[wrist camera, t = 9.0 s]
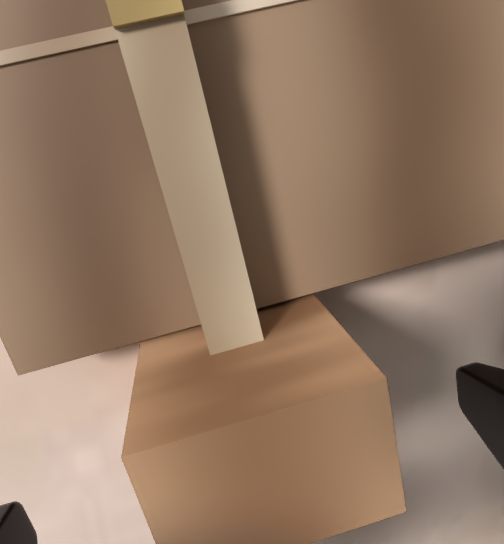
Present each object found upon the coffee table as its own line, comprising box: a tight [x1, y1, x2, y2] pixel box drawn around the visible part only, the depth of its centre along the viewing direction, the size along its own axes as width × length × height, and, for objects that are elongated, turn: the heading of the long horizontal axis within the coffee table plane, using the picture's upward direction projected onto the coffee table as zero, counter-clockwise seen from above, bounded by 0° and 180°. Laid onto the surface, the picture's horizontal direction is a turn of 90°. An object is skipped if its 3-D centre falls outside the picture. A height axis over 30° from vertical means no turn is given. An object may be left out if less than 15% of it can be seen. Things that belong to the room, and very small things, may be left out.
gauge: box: [106, 0, 406, 544], centre depth 9 cm, size 4×11×6 cm, turn 13°
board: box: [0, 0, 504, 375], centre depth 11 cm, size 22×8×2 cm, turn 103°
